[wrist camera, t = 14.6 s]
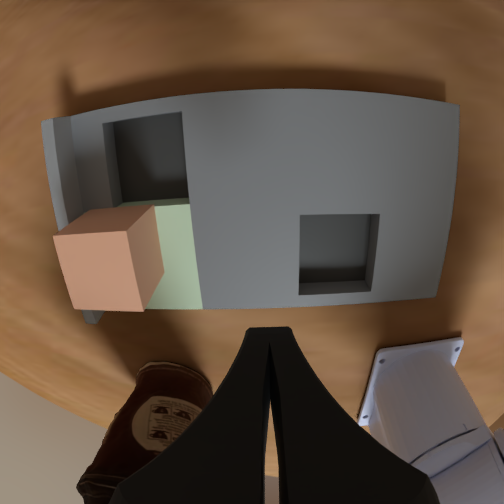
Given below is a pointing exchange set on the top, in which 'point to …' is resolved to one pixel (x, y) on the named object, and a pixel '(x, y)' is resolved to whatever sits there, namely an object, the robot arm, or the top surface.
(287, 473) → the robot arm
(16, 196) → the top surface
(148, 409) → the coffee cup
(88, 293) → the block
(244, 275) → the board
